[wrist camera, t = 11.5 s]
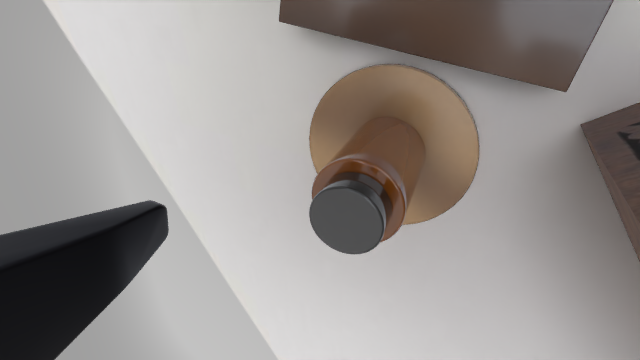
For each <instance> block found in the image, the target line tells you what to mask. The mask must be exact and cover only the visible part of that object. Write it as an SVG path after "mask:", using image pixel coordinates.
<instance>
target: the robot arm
mask: <svg viewBox="0 0 640 360" xmlns="http://www.w3.org/2000/svg"><path fill="white" fill-rule="evenodd" d="M167 235H168V217H167V209H166V207H165V206H164V205H162V204H160V203H157V202H155V201H151V200H150V201H145V202H140V203H136V204H132V205H128V206H124V207H119V208H114V209H110V210H106V211H102V212H97V213H93V214H89V215H84V216H80V217H76V218H71V219H67V220H63V221H58V222H54V223H50V224H46V225H41V226H37V227H33V228H29V229H24V230H20V231H15V232H11V233H7V234H3V235H0V360H55V359H56V357H58V356H59V355H60V353H61V352H62V351H63V350H64V349H65V348H66V347H67V346H68V345H69V344H70V343H71V342H72V341H73V340H74V339H75V338H76V337H77V336H78V335H79V334H80V333H81V332H82V331H83V330H84V329H85V328H86V327H87V326H88V325H89V324H90V323H91V322H92V321H93V320H94V319H95V318H96V317H97V316H98V315H99V314H100V313H101V312H102V311H103V310H104V309H105V308H106V307H107V306H108V305H109V304H110V303H111V302H112V301H113V300H114V299H115V298H116V297H117V296H118V295H119V294H120V293H121V292H122V291H123V290H124V289H125V288H126V286H127V285H128V284H129V283H130V282H131V281H132V280H133V278H134V277H135V276H136V275H137V274H138V272H139V271H140V270H141V269H142V267H143V266H144V265H145V263H147V261H148V260H149V259H150V258H151V256H152V255H153V254H154V252H155V251H156V250H157V249H158V248H159V247H160V245H161V244H162V243H163V241H164V240H165V239H166V237H167Z"/></svg>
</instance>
